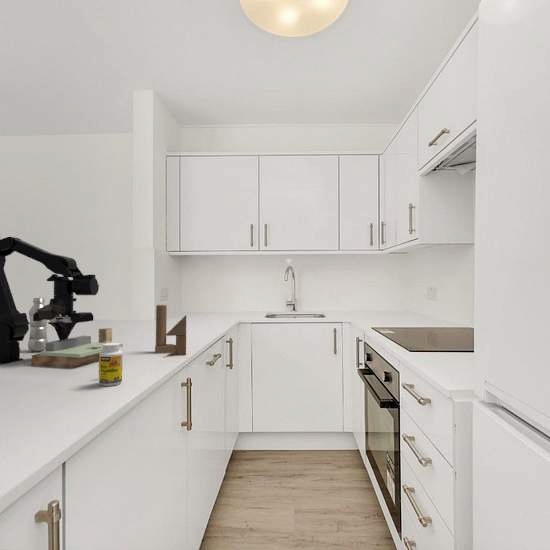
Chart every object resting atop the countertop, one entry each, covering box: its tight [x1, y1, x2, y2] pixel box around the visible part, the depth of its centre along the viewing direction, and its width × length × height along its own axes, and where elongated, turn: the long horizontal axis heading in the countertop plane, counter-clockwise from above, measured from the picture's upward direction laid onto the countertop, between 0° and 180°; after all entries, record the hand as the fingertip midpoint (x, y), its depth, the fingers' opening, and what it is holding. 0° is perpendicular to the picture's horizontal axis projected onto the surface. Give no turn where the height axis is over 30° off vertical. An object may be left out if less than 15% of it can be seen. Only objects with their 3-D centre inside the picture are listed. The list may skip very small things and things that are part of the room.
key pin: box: [98, 327, 113, 343], centre depth 142 cm, size 3×3×9 cm
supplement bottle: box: [98, 342, 124, 387], centre depth 99 cm, size 6×6×10 cm
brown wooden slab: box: [31, 353, 100, 369], centre depth 124 cm, size 14×20×4 cm
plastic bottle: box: [27, 297, 49, 353], centre depth 145 cm, size 6×7×20 cm
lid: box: [39, 335, 124, 358], centre depth 123 cm, size 14×20×4 cm
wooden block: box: [154, 304, 187, 357], centre depth 139 cm, size 4×11×18 cm, turn 104°
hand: (63, 343), depth 125 cm, fingers closed
